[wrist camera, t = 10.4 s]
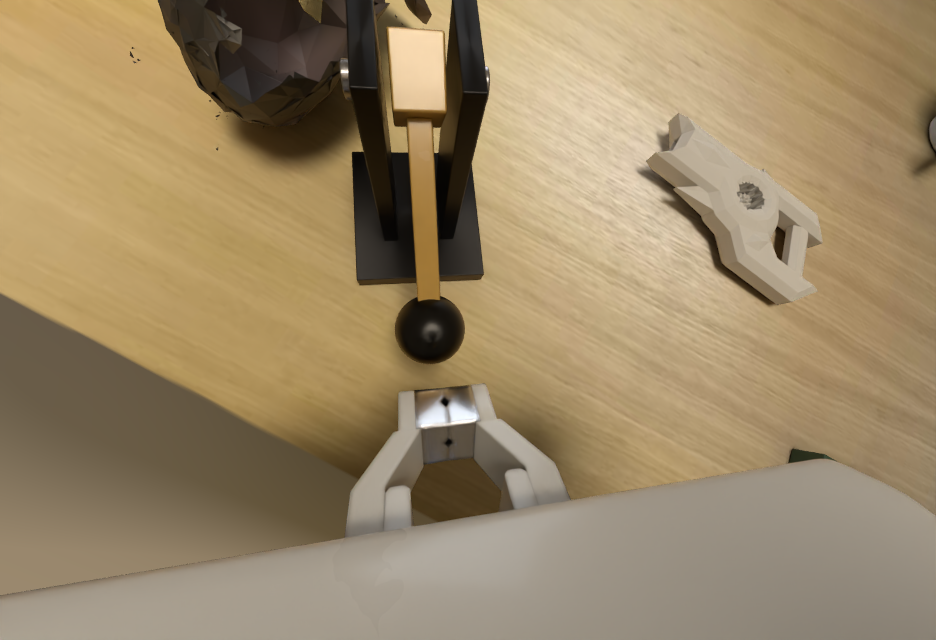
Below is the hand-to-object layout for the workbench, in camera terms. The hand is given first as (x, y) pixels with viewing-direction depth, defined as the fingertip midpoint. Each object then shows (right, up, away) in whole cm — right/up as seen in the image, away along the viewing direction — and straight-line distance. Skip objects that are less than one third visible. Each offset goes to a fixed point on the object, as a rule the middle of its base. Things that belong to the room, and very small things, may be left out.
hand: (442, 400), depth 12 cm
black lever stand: (-3, +11, +14) cm, 18 cm away
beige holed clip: (+24, +12, +19) cm, 33 cm away
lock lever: (-1, +8, +6) cm, 10 cm away
